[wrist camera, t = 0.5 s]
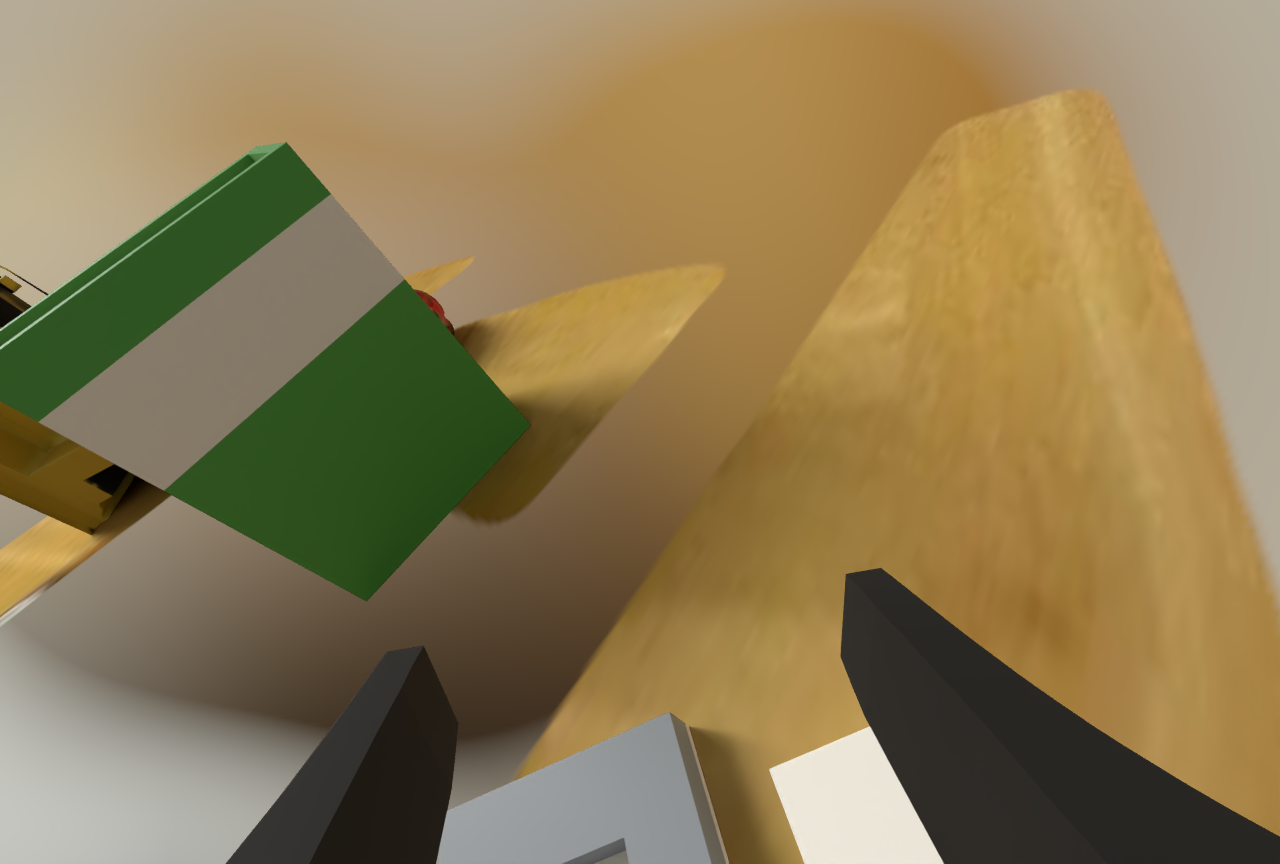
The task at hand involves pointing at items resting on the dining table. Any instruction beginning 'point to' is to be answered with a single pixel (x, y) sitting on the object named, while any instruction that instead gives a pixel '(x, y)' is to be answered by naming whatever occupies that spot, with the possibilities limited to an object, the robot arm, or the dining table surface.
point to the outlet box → (597, 808)
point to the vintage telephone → (52, 457)
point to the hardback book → (266, 374)
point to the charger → (851, 806)
